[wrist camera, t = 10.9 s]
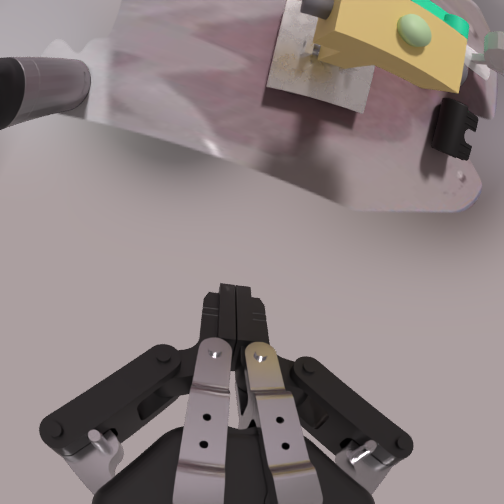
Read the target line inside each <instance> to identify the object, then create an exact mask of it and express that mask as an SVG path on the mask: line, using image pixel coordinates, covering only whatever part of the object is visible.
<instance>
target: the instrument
mask: <svg viewBox="0 0 504 504" xmlns="http://www.w3.org/2000/svg"><path fill="white" fill-rule="evenodd" d="M300 12H301V13H305V14H308V15H312V16H315V17H318V21H317V25H316V30H315V34H314V38H313V43H315V44H318V45H321V47H320V51H319V55H318V60H320V61H323V62H326V63H329V64H332V65H335V66H338V67H341V68H344V69H347V68H354V67H362V66H371V65H375V66H377V67H379V68H382V69H384V70H386V71H388V72H390V73H392V74H395V75H397V76H399V77H401V78H403V79H405V80H407V81H409V82H410V83H412V84H414V85H416V86H418V87H420V88H424V89H432V90H440V91H446V92H452V93H459V88H460V86H461V85H462V84H463V83H464V82H465V80H466V78H467V75H468V69H467V66H466V64H465V63H464V60H465V53H466V45H467V39H466V38H465V37H464V36H463V35H461V34H460V33H459V32H458V31H456V30H455V29H454V28H452V27H451V26H449V25H448V24H447V23H445V22H444V21H442V20H441V19H439V18H438V17H436V16H435V15H433V14H432V13H430V12H429V11H427V10H426V9H424V8H423V7H421V6H419V5H418V4H416V3H414V2H413V1H411V0H302V4H301V9H300Z"/></svg>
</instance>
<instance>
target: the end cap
mask: <svg viewBox="0 0 504 504" xmlns="http://www.w3.org/2000/svg"><path fill="white" fill-rule="evenodd" d="M477 123H478V117H477V116H475V115H474V114H473V113H471V112H470V111H468V106H466V105H464V104H463V103H461V102H458V101H456V100H453V99H450V98H443V99H442V103H441V108H440V113H439V117H438V122H437V126H436V130H435V134H434V138H433V141H432V145H431V146H432V148H435V149H437V150H439V151H441V152H443V153H446V154H448V155H450V156H452V157H454V158H456V157H457V158H459V159H461V160H466V161H467V160H468V159H469V155H470V152H471V148H472V146H470V145H469V144H467V143H466V142H465V139H464V134H465V131H466V130H467V129H471V130H472V131H474V132H475V131H476V128H477Z"/></svg>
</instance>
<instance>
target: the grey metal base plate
mask: <svg viewBox="0 0 504 504" xmlns="http://www.w3.org/2000/svg"><path fill="white" fill-rule="evenodd" d="M301 4H302V2H301V1H297V0H286V4H285V8H284V12H283V16H282V20H281V24H280V28H279V33H278V37H277V41H276V45H275V49H274V54H273V58H272V62H271V67H270V71H269V75H268V80H267V84H266V87H270V88H274V89H279V90H283V91H286V92H288V93H290V94H299V95H303V96H307V97H311V98H314V99H318V100H321V101H325V102H328V103H331V104H334V105H337V106H341V107H344V108H347V109H350V110H352V111H355V112H358V113H361V114H363V113H364V109H365V105H366V101H367V97H368V93H369V89H370V85H371V81H372V77H373V72H374V68H375V65H371V66H362V67H354V68H347V69H344V68H341V67H338V66H335V65H332V64H329V63H326V62H323V61H320V60H318V55H319V51H320V47H321V45H318V44H315V43H313V38H314V34H315V30H316V25H317V21H318V17H315V16H312V15H308V14H305V13H301V12H300V9H301Z"/></svg>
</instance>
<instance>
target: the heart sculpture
mask: <svg viewBox="0 0 504 504" xmlns="http://www.w3.org/2000/svg"><path fill="white" fill-rule="evenodd" d="M464 63H465V64H466V66H467V67H469V68H470V69H471V70H473V71H474V72H476V73H477V74H478V75H480V76H481V77H482V78H483V79H485V80H486V81H487V79H488V77H489V75H490V69H492V70H494V71H496V72H498V73H500V74H501V75H503V76H504V32H499V31H497V32H489V33H488V34H487V35H486V36H485V42H484V54H478V53H477V52H476V51H474V50H473V49H472V48H470V47H469V46H468V45H466V53H465V60H464Z"/></svg>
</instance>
